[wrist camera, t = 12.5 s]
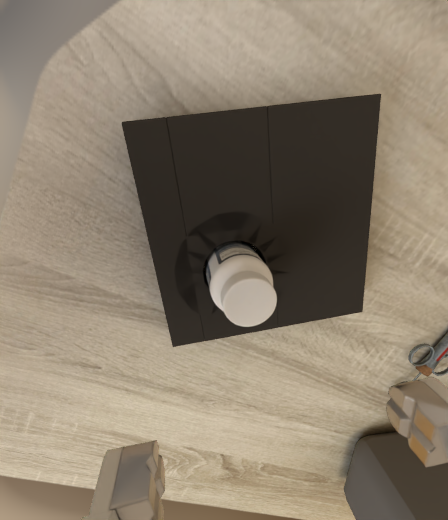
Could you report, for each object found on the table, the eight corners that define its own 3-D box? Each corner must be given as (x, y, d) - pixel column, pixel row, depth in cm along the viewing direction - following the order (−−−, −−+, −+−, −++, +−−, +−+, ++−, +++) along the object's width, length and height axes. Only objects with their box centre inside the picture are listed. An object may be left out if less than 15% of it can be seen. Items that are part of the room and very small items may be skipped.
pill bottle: (236, 292, 28) (258, 345, 20) (194, 270, 27) (199, 318, 19) (264, 251, 27) (299, 290, 19) (222, 226, 26) (240, 256, 17)
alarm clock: (336, 478, 43) (414, 641, 28) (349, 428, 39) (446, 587, 24) (425, 465, 45) (540, 608, 31) (446, 416, 41) (588, 554, 27)
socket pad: (174, 329, 29) (172, 347, 26) (129, 127, 22) (121, 121, 19) (346, 298, 31) (362, 312, 28) (357, 101, 23) (381, 93, 21)
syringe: (499, 303, 34) (514, 310, 33) (409, 402, 39) (419, 412, 37) (463, 280, 32) (477, 286, 31) (372, 387, 37) (380, 398, 35)
